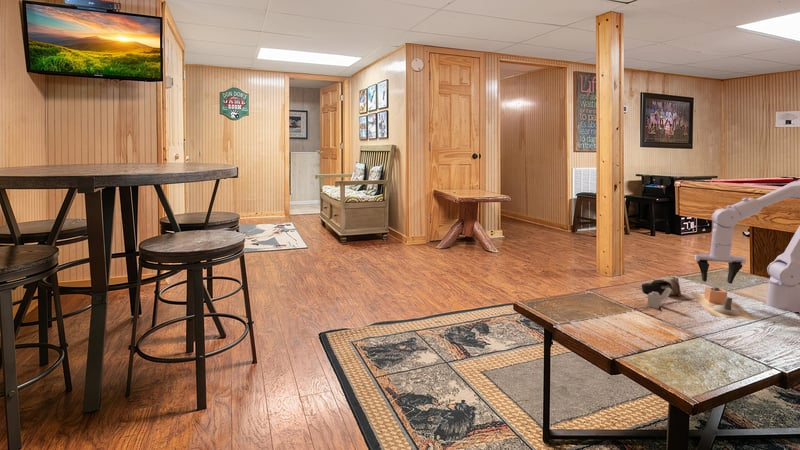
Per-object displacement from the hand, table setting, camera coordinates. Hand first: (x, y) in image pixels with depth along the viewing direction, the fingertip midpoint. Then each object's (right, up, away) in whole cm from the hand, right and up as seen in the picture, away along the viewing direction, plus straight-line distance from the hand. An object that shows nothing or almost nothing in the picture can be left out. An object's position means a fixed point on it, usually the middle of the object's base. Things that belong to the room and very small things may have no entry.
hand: (716, 281), depth 156 cm
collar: (0, -7, +1) cm, 7 cm away
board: (-1, -9, -3) cm, 9 cm away
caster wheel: (-14, -6, +12) cm, 19 cm away
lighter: (-22, -9, -3) cm, 24 cm away
